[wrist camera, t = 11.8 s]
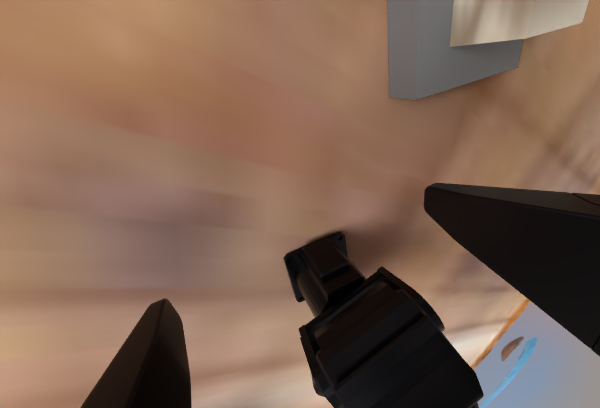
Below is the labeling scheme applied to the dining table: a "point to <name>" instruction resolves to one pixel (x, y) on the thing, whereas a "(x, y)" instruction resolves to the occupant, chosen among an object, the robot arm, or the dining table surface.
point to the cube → (511, 19)
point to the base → (437, 51)
